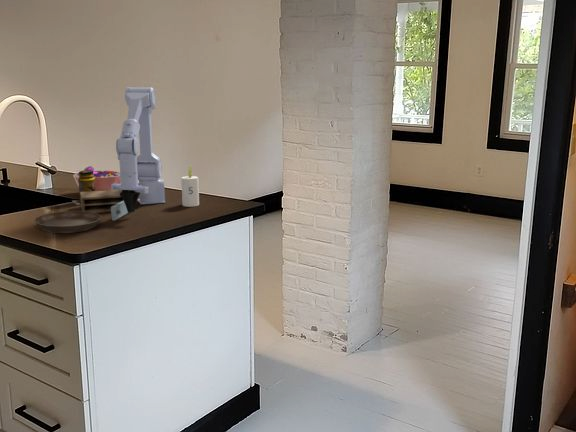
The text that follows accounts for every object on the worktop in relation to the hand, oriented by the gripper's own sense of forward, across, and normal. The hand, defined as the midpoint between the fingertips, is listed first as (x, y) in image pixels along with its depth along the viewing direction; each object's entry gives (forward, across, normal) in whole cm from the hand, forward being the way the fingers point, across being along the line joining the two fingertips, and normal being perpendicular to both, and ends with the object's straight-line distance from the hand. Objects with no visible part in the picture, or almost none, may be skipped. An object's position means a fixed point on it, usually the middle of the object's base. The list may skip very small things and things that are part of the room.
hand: (131, 211), depth 210 cm
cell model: (+2, -38, +26) cm, 46 cm away
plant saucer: (+3, -11, -18) cm, 21 cm away
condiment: (+2, -32, +12) cm, 34 cm away
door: (+2, -4, +2) cm, 5 cm away
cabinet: (+2, -17, +8) cm, 19 cm away
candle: (+2, +7, +26) cm, 27 cm away
